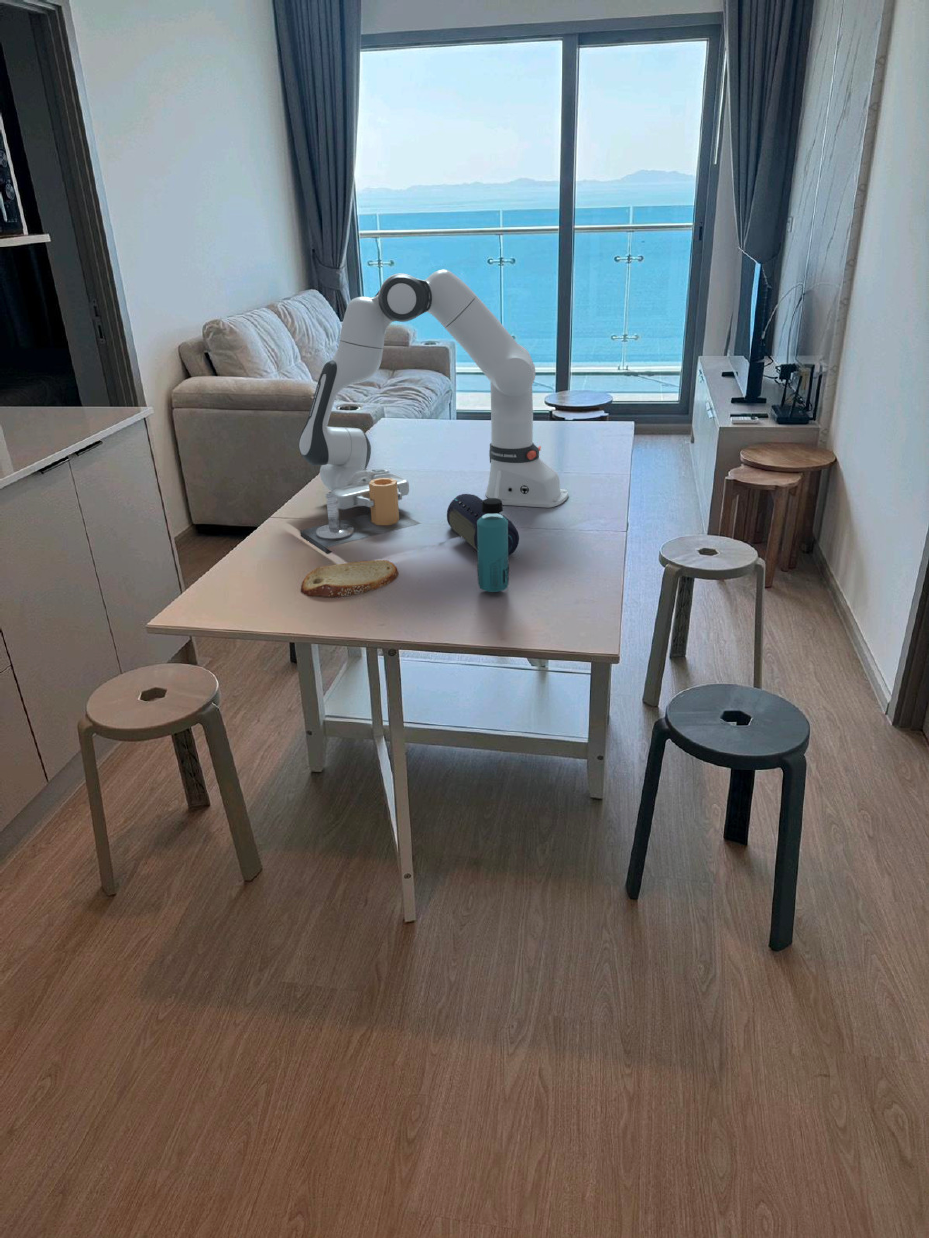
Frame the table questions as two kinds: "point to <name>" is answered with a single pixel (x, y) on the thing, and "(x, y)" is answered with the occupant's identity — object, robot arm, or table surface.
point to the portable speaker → (474, 520)
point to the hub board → (348, 528)
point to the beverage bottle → (492, 547)
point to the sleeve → (384, 501)
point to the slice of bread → (349, 578)
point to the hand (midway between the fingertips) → (386, 500)
